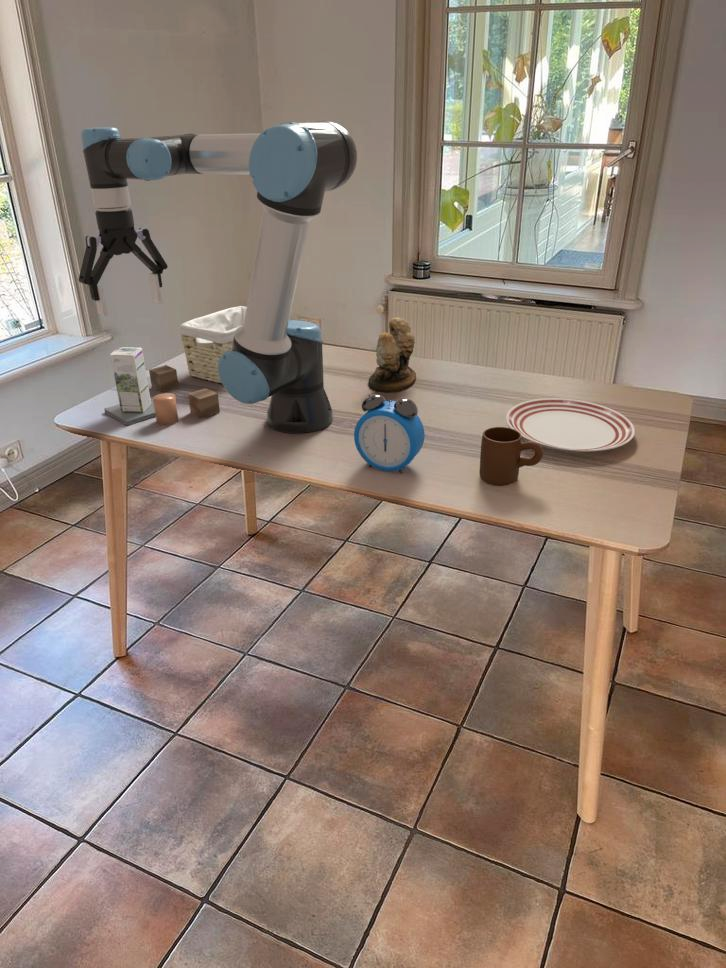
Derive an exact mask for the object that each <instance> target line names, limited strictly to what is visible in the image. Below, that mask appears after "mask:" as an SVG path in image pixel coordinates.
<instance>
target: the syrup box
mask: <svg viewBox="0 0 726 968" xmlns="http://www.w3.org/2000/svg"><path fill="white" fill-rule="evenodd" d="M109 355H110V360H111V361H110V362H111V365H112V367H111V368H112V372H113V377H114V381H115V387H116V392H117V397H118V402H119V404H120V408H121V412H141V413H143V412H145V411H146V410H147V409H148V407H149V406H150V405H151V400H152V399H151V394H150V389H149V383H148V376H147V368H146V363H145V358H144V352H143V348H142V347H126V346H124V347H122V346H119V347H117V348H115V349H114V350H113V351H112V352H111V353H110V354H109Z"/></svg>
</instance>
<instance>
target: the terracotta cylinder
mask: <svg viewBox="0 0 726 968" xmlns="http://www.w3.org/2000/svg"><path fill="white" fill-rule="evenodd" d="M152 400H153V402H154V409H155V415H156V417H155V419H156V424H157V425H158V426H159V425H160V426H165V427H166V426H167V427H168V426H171V425H174V424H177V423H178V422H179V421H180V420H179V414H178V406H177V399H176V394H174V393H169V392H168V393H167V392H162V393H158V394H156V395H154V396H153V397H152Z"/></svg>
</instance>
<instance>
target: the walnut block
mask: <svg viewBox="0 0 726 968" xmlns="http://www.w3.org/2000/svg"><path fill="white" fill-rule="evenodd" d="M187 396H188V404H189V409H190V414H192V415H194V416H196V417H198V418H200V419H202V418H203V419H205V417H206V418H208V416H209V417H212V416H214V414H215V415H217V414H216V413H218V414H220V413H221V411H220V409H221V408H220V401H219V394H218V392H215V391H213V390H211V389H209V388H207V387H206V388H202V389H198V390H195V391H192V392H188V394H187ZM219 412H220V413H219ZM211 415H212V416H211Z"/></svg>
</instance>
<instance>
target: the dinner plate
mask: <svg viewBox="0 0 726 968" xmlns="http://www.w3.org/2000/svg"><path fill="white" fill-rule="evenodd" d="M505 421H506V423H507V425H508V428H511V429H514V430H517V431H518V432H520V434H521V436H522V438H523V439H525V440H527V441H533V442H536V443H538V444H539V445H540V446H541V447H545V448H549V449H553V450H557V451H563V452H564V451H565V452H573V453H589V452H602V451H607V450H609V451H610V450H612V449H617V448H620V447H622V446H624V445H626V444H628V443H629V442H631V440H633V438H634V437H635V433H636V428H635V426H634V424H633V423H632V422H631V420H630V419H628V417H626V416H625V415H623V413H621V412H618V411H617V410H614V409H612V408H609V407H607V406H605V405H601V404H597V403H594V402H589V401H585V400H578V399H573V398H561V397H560V398H559V397H557V398H556V397H555V398H554V397H552V398H549V397H548V398H545V397H544V398H535V399H530V400H527V401H522V402H520V403H518V404H515V405H514V406H512V407H511V408H510V409H509V410H508V411H507V413H506V415H505Z"/></svg>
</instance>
